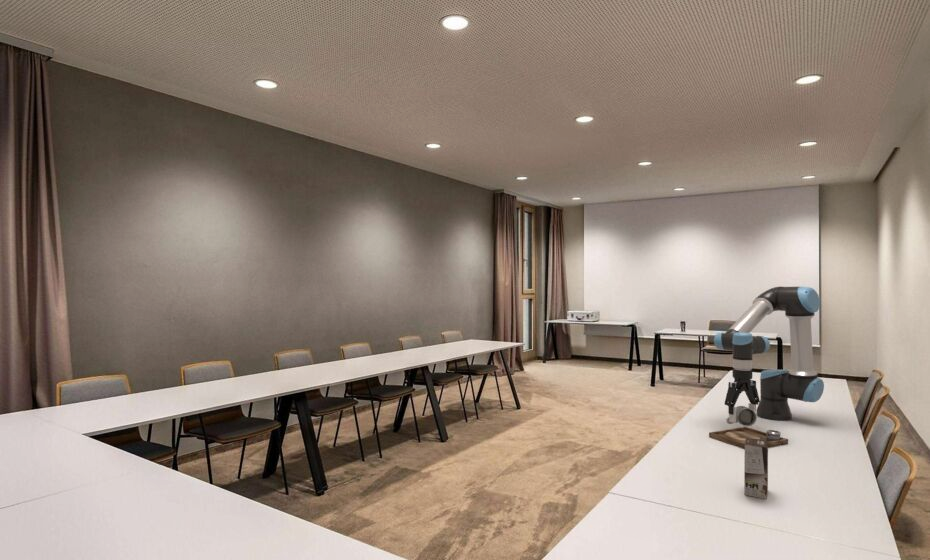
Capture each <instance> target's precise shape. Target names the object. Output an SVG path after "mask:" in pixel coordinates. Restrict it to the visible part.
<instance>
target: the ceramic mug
mask: <svg viewBox="0 0 930 560" xmlns="http://www.w3.org/2000/svg"><path fill="white" fill-rule="evenodd" d="M735 407H736V423H739V425H741V426H742V427H753V425H755V423H756V422H757V414H756V411H755V412H754V411H753V410H752V409H750V408H748V406H745V405H738V406H735ZM725 420H726V423H727V424H728V425H732V424H736V423H733V422H730V421H729V416H728V417H727V418H726V419H725Z"/></svg>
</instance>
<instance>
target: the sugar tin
mask: <svg viewBox="0 0 930 560" xmlns="http://www.w3.org/2000/svg"><path fill="white" fill-rule="evenodd" d="M765 433H766V440H767V441H769V442H771V441H776V440H780V437H781V431H779V430H774V429H773V430H772V429H769V430H768V429H767V430H766V431H765Z"/></svg>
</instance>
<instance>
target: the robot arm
mask: <svg viewBox="0 0 930 560" xmlns="http://www.w3.org/2000/svg"><path fill="white" fill-rule="evenodd" d="M820 300H821V299H820V297H819V293H818V292H817V290H815V289H814V288H813V287H810V286H809V287H808V286H775V287H772V288H769V289H767V290H765V291H763V292H761V294H758V296H757V297H755V298H754V300H752V305H751V306H750V307H749V308H748V309H747V310H745V312H743V314H742V315H741V316H740V317H739V318H738V319H737V320H736V321H735V322H734V323H733V324H732V325H731V326H730V328H728V329H727V330H726V331H725V332H717V333H716V334H715V335H714V338H713V344H714V347H715V348H716V349H719V350H723V351H731V352H732V378H733V379H734V381H728V384H727V385H728V387H727V391H726V394H725V395H726V396H725V401H724V406H727V408H728V417H729V421H730V422H733V423H734V424H736V407H737V406H735V405H736V403H737V401H738V399H739V396H740V395H741V394H742V393H743V392H744V393H745V395H746V397H747V399H748V401H749V403H748V406H747V408H750V409H752V410H753V411H754V412H755V413H756V417H757V416H758V417H760V418H763V419H766V420H774V421H789V420H792V419H793V415H792V414H793V413H792V411H791V408H790V405H789V402H788V400H789V399H790V400H791V399H792V400H796V401H800V402H804V403H806V402H807V403H817V402H818V401H819V400H820V399H821V397H822V396H823V393H824V389H825V382H824V381H823V379H822V378H820V377H819V376H818V372H817V371H816V370H815V369H814V356H813V355H814V353H813V352H814V351H813V339H812V338H813V334H812V332H813V331H812V318H814V317H815V313H817V312H818V311H819V309H820V306H821V301H820ZM778 311H780V312H785V313H784V314H785V317H786V318H788V319H789V320H788V321H789V338H790V341H789V342H790V357H791V361H790V362H791V368H790V370H787V369H766V370H761V372H760V378H759V381H760V385H759V387H760V396H759V392H758V388H757V381H756V380H753V370H752V369H753V367H754V366H753V363H754V362H753V355H757V354H764V353H767V352H768V351H769V350H770V348H771V344H770V343H771V341H770V340H769V339H768V338H767V337H766V336H763V335H755V336H754V335H753V334H752V331H753V330H754V329H755V328H756V326H758V325H759V324H760V322H761V321H762V320H763V319H765V318H766V316H769V315H771V314H772V313H773V312H778ZM757 405H758V406H757Z"/></svg>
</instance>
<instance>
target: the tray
mask: <svg viewBox="0 0 930 560" xmlns="http://www.w3.org/2000/svg"><path fill="white" fill-rule="evenodd" d="M708 437H709V438H710V439H712V440H713V439H714V440H716V441H719V442H721V443H726V444H728V445H732V446H734V447H737V448H740V449H743V450H745V441H746V438H751V439H761V440H766V431H765V432H764V431H761V430H758V429H754V428H752V427H751V428H750V427H749V426H742V427H737V428H728V429H723V430H717V431H710V432H708ZM780 445H781V446H786V445H789V439H788V438H784V437H782V436H780V440H776V441H771V442H769V441H768V449H769V448H775V447H781V446H780Z"/></svg>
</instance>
